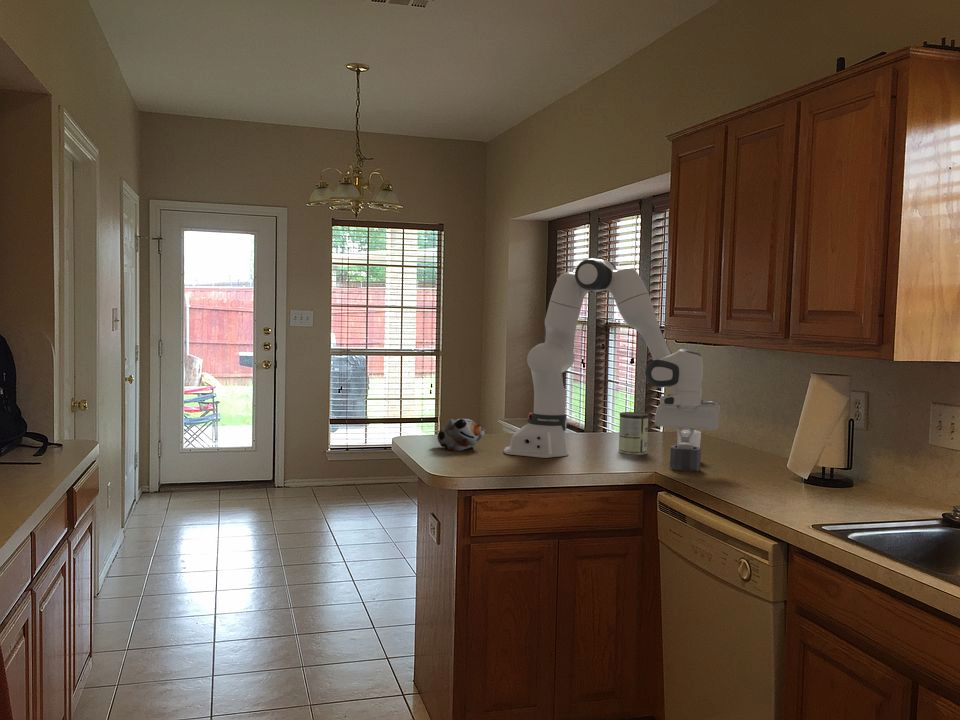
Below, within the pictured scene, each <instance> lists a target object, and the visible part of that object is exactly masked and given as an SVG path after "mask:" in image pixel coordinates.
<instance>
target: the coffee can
mask: <svg viewBox="0 0 960 720" xmlns="http://www.w3.org/2000/svg"><path fill="white" fill-rule="evenodd" d="M649 417H650V415H649V413H645V412H640V411H639V412H638V411H622V412H620V413H619V430H618V431H619V432H618V453H620V454H625V455H638V456H639V455H646V454H648V435H649V434H648V433H649V432H648V431H649Z"/></svg>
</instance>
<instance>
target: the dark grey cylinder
mask: <svg viewBox="0 0 960 720" xmlns="http://www.w3.org/2000/svg"><path fill="white" fill-rule="evenodd" d="M701 452H702V448H701V447H700V448H699V447H696V446H693V449H680V448H677V444H676V445H675V444H674V445H670V452H669V469H670V468H672V469H671V470H673V469H677V470H683V471H682V472H687V471H694V472H698V471H697V470H701V455H702V454H701ZM677 470H676V471H677Z"/></svg>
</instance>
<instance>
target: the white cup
mask: <svg viewBox="0 0 960 720" xmlns="http://www.w3.org/2000/svg"><path fill="white" fill-rule="evenodd" d="M681 433H682V435H683V436H688V435H689V433H690V431H689V429H682V431H681ZM701 437H702V432H701V431H700V430H696V429H694V433H693V434H692V436H691V437H690V442H681V441H680V439H681V436H680V434H679V432H678V431H677V444H678V443H688V444H693V446H696V447H699V448H701V447H700V446H701Z"/></svg>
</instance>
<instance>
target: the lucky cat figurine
mask: <svg viewBox="0 0 960 720" xmlns="http://www.w3.org/2000/svg"><path fill="white" fill-rule="evenodd" d="M485 434H486V429H484V428H483V427H482V425H481V424H480V423H479V424H477V423H475V421H474V420H472V419H469V418H457V419H456V418H455V419H453V418H451V419H449V422H448V423H447V424H446V426H445V427H442V428H441V429H440V430H439V431H438V434H437V441H438V443H439V445H440V446H441V447H443V448H445V450H446V451H450V452H462V451H464V450H467V449H470V448H474V447H475V446H476V444H477V443H478V442H479V441H480V440H481V439H482V438H483V437H484V435H485Z"/></svg>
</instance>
